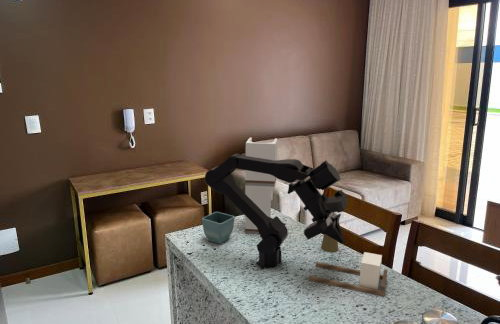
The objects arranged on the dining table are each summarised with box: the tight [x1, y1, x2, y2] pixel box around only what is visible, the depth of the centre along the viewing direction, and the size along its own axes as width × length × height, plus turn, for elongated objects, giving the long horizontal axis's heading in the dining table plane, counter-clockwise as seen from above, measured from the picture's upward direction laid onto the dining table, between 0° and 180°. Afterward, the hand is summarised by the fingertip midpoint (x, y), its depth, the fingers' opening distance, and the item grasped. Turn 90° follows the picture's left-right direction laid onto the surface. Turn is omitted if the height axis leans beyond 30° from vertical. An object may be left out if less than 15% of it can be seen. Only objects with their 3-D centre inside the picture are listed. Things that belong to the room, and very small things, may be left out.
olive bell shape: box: [320, 234, 339, 253], centre depth 134 cm, size 6×6×11 cm
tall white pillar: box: [244, 137, 278, 236], centre depth 149 cm, size 11×11×35 cm
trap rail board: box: [308, 261, 388, 297], centre depth 115 cm, size 21×16×4 cm
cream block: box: [358, 251, 383, 290], centre depth 112 cm, size 5×7×8 cm
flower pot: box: [201, 211, 236, 245], centre depth 142 cm, size 9×9×9 cm
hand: (342, 242), depth 114 cm, fingers closed
